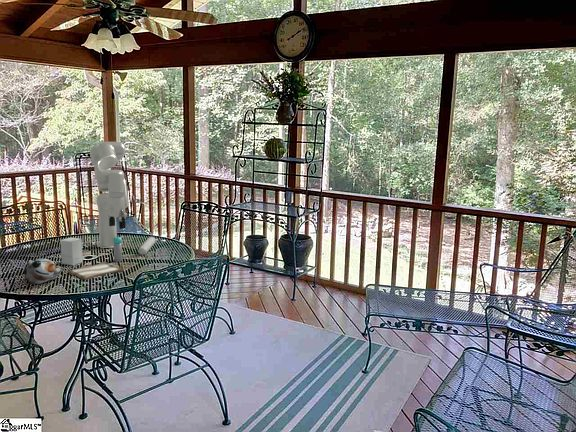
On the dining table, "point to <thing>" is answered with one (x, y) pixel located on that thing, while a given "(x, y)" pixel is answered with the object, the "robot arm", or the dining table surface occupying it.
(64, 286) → the dining table surface
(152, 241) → the tube
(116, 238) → the marker
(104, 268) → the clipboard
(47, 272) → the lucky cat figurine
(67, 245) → the supplement box
